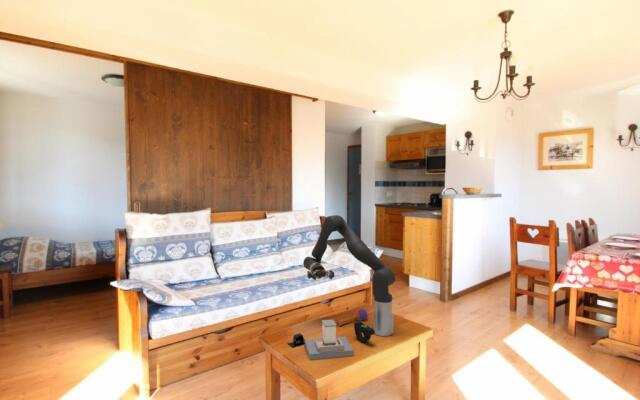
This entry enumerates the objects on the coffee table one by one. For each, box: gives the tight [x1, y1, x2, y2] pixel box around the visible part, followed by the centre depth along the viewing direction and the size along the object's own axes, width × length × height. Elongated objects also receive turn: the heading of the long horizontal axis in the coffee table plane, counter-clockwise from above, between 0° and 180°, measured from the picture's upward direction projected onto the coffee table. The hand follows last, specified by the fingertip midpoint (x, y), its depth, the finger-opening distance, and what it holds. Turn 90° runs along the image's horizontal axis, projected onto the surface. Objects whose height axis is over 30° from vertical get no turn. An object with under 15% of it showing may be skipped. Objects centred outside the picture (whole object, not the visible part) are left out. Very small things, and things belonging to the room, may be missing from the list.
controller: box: [353, 319, 375, 343], centre depth 164 cm, size 4×12×10 cm, turn 35°
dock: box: [304, 336, 355, 361], centre depth 156 cm, size 20×14×5 cm
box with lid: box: [321, 319, 338, 346], centre depth 154 cm, size 5×6×11 cm
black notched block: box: [286, 332, 306, 349], centre depth 162 cm, size 12×7×5 cm, turn 123°
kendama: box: [336, 308, 368, 327], centre depth 188 cm, size 6×6×20 cm
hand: (323, 277), depth 176 cm, fingers open, 8 cm apart
